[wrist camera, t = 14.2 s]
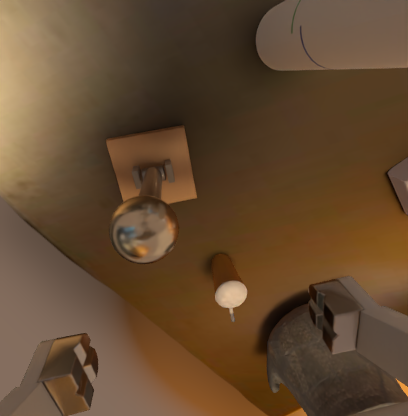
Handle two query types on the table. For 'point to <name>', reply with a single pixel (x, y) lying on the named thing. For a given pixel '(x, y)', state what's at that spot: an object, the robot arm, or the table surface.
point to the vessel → (325, 371)
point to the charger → (400, 182)
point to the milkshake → (227, 283)
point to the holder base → (153, 162)
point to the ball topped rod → (145, 222)
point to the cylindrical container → (334, 35)
